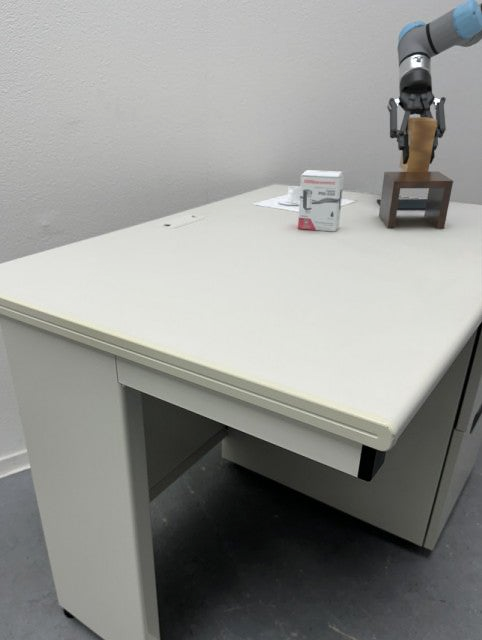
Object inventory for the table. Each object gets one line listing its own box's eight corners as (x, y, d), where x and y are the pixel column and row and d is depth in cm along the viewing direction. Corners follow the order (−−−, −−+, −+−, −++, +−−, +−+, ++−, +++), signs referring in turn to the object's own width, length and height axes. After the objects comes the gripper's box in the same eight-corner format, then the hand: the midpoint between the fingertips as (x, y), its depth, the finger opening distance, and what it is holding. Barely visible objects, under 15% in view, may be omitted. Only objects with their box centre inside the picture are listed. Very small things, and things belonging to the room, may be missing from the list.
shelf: (430, 215, 129) (438, 171, 124) (444, 228, 119) (453, 180, 114) (378, 215, 130) (384, 171, 126) (387, 228, 120) (394, 181, 115)
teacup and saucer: (291, 198, 150) (292, 182, 148) (315, 201, 145) (317, 186, 143) (271, 203, 145) (272, 187, 143) (296, 207, 140) (297, 191, 138)
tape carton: (419, 167, 138) (428, 117, 133) (428, 173, 131) (437, 120, 125) (399, 167, 139) (406, 117, 133) (406, 173, 131) (414, 120, 126)
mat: (431, 201, 142) (432, 199, 142) (441, 210, 134) (442, 207, 133) (376, 201, 144) (376, 199, 144) (383, 210, 135) (383, 207, 135)
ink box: (296, 229, 121) (300, 173, 115) (301, 224, 125) (305, 169, 120) (335, 232, 118) (341, 174, 113) (339, 226, 122) (345, 171, 117)
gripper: (381, 69, 134) (382, 150, 128) (458, 67, 132) (464, 149, 126) (374, 92, 141) (376, 170, 135) (448, 91, 139) (452, 170, 133)
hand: (418, 160), depth 130 cm, fingers closed on tape carton, 5 cm apart
